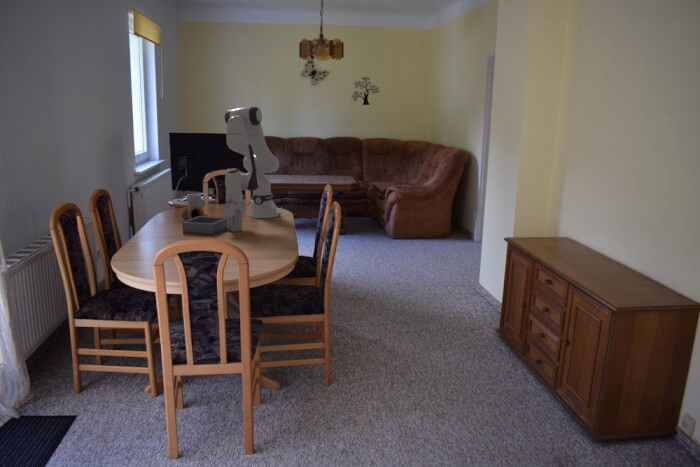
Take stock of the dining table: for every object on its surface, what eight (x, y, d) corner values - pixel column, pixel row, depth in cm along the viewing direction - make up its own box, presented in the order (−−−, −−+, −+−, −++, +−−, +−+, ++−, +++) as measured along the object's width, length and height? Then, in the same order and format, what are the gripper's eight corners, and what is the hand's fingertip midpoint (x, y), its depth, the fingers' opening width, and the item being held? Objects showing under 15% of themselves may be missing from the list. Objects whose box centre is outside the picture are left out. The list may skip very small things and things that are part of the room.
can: (229, 232, 307) (228, 211, 305) (228, 229, 314) (227, 208, 312) (242, 231, 309) (242, 210, 307) (241, 228, 316) (240, 208, 314)
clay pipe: (177, 229, 330) (198, 223, 325) (171, 212, 328) (191, 206, 323) (194, 222, 348) (214, 216, 343) (188, 206, 346) (208, 200, 341)
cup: (201, 211, 367) (200, 193, 364) (206, 213, 360) (205, 195, 357) (185, 213, 361) (184, 194, 358) (190, 215, 354) (189, 196, 351)
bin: (199, 226, 322) (198, 216, 321) (227, 228, 318) (227, 217, 317) (182, 233, 305) (182, 222, 304) (213, 235, 301) (212, 224, 300)
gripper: (231, 201, 297) (232, 226, 300) (246, 195, 317) (247, 219, 320) (220, 200, 299) (221, 226, 302) (236, 195, 318) (237, 218, 321)
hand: (235, 222), depth 311 cm, fingers closed on can, 7 cm apart
